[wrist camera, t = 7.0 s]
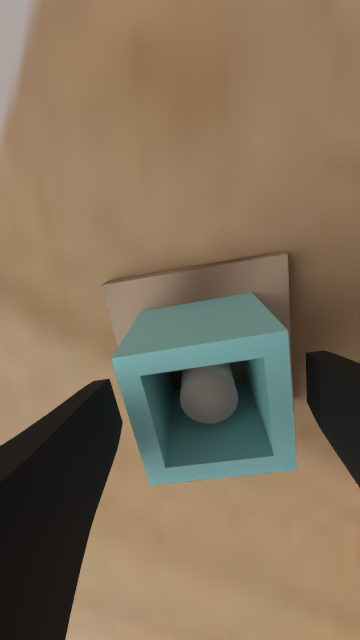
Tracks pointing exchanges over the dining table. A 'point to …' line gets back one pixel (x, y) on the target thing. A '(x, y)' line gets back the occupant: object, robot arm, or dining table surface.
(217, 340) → the teal hollow block
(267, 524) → the dining table surface
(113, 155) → the dining table surface
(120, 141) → the dining table surface
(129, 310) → the pin plate
